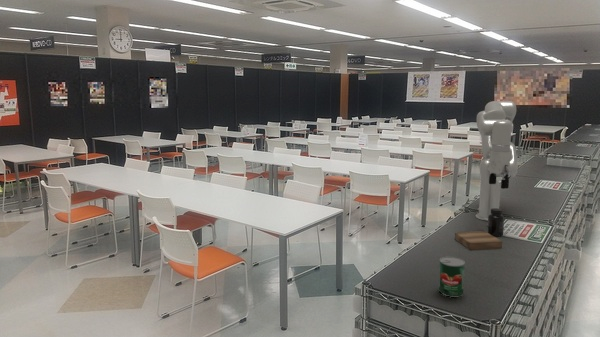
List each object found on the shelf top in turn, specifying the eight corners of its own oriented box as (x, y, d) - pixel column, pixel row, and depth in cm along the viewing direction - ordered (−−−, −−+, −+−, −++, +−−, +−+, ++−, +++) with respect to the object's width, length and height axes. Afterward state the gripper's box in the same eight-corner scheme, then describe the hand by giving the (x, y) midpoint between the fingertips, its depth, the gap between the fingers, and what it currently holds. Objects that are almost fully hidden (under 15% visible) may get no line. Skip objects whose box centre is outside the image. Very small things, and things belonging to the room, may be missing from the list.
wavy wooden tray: (454, 238, 188) (455, 232, 188) (484, 237, 190) (484, 231, 189) (470, 250, 175) (470, 243, 174) (501, 248, 176) (502, 241, 175)
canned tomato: (457, 286, 142) (459, 255, 140) (467, 297, 134) (469, 265, 132) (434, 287, 142) (435, 256, 140) (443, 298, 134) (444, 266, 132)
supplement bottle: (500, 232, 196) (501, 207, 194) (505, 237, 189) (507, 211, 187) (485, 232, 197) (486, 207, 195) (490, 236, 190) (491, 211, 188)
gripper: (482, 146, 194) (480, 182, 197) (503, 151, 177) (501, 190, 180) (497, 146, 195) (495, 182, 198) (520, 150, 178) (517, 189, 181)
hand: (498, 186), depth 189 cm, fingers open, 9 cm apart
